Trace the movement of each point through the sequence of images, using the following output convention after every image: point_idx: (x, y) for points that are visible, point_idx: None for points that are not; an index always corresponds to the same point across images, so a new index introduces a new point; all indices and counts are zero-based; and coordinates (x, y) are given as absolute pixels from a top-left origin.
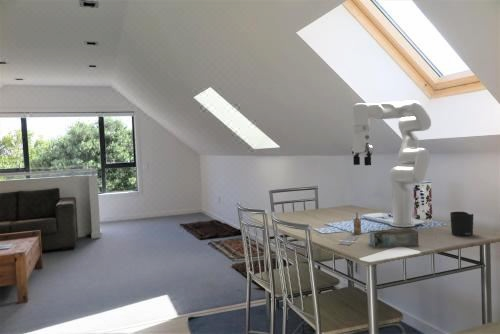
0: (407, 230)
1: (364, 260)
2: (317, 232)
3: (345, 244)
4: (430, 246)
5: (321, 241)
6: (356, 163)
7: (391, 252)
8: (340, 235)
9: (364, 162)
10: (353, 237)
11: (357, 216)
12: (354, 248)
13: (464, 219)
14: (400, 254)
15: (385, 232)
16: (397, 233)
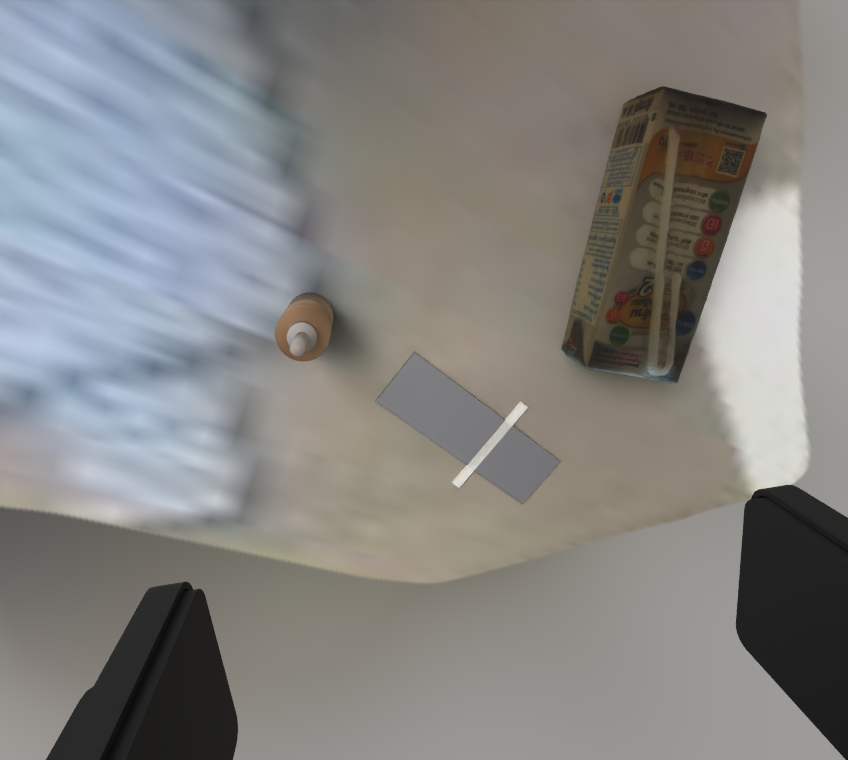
0: (721, 162)
1: None
2: (211, 531)
3: (544, 478)
4: (755, 71)
5: (433, 561)
6: (215, 707)
7: (749, 331)
8: (333, 432)
9: (800, 699)
10: (420, 387)
11: (307, 339)
12: (617, 459)
13: None
14: (793, 309)
15: (680, 309)
16: (722, 249)
